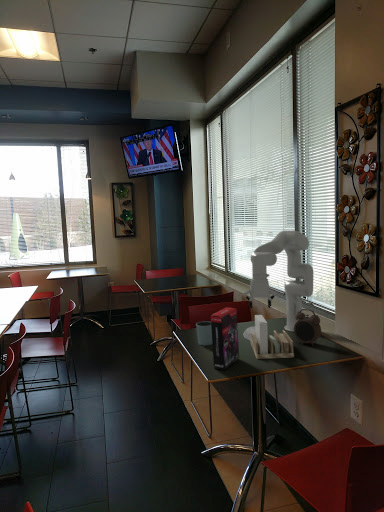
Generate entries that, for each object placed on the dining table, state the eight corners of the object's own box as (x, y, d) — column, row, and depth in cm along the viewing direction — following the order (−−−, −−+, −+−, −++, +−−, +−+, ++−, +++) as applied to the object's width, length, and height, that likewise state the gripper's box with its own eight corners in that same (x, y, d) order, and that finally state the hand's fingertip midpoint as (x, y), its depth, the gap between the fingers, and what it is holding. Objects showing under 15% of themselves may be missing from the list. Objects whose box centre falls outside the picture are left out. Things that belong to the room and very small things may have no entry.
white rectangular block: (262, 345, 209) (261, 314, 207) (268, 356, 193) (267, 323, 191) (255, 345, 209) (254, 315, 207) (260, 356, 193) (259, 323, 192)
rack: (283, 342, 212) (283, 329, 211) (293, 357, 190) (293, 342, 189) (250, 344, 212) (250, 330, 211) (256, 358, 190) (256, 343, 190)
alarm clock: (292, 343, 211) (292, 309, 209) (298, 339, 216) (298, 306, 214) (316, 348, 201) (316, 312, 199) (322, 344, 206) (322, 309, 204)
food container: (258, 328, 239) (257, 319, 238) (278, 342, 216) (277, 332, 214) (237, 334, 235) (236, 324, 234) (255, 349, 211) (253, 338, 210)
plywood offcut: (282, 345, 208) (281, 333, 208) (288, 355, 194) (288, 342, 193) (277, 345, 209) (277, 333, 208) (284, 355, 194) (283, 342, 193)
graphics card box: (224, 371, 177) (222, 316, 174) (212, 368, 180) (210, 314, 178) (239, 359, 191) (238, 308, 188) (227, 356, 195) (225, 306, 192)
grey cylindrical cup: (204, 347, 211) (204, 327, 209) (193, 343, 218) (192, 323, 217) (217, 342, 217) (216, 323, 216) (205, 339, 225) (204, 319, 224)
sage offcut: (271, 345, 209) (271, 335, 209) (280, 356, 193) (279, 345, 193) (267, 345, 209) (267, 335, 208) (275, 356, 193) (275, 345, 193)
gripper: (274, 275, 200) (274, 305, 202) (242, 276, 201) (243, 306, 202) (277, 277, 193) (277, 309, 195) (244, 278, 193) (245, 310, 195)
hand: (260, 307), depth 198 cm, fingers open, 9 cm apart
